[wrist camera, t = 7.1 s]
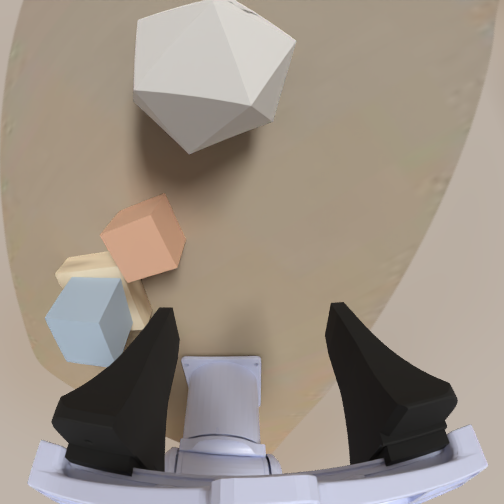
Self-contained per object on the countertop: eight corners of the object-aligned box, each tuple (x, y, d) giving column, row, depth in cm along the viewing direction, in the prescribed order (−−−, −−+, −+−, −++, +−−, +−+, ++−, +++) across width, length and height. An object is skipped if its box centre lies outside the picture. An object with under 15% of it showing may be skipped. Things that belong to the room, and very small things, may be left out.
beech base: (153, 307, 27) (146, 329, 25) (95, 311, 27) (84, 332, 25) (131, 245, 24) (119, 265, 21) (69, 255, 24) (54, 274, 22)
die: (293, 117, 20) (349, 19, 10) (198, 199, 18) (195, 111, 9) (212, 51, 20) (223, -52, 10) (117, 117, 18) (75, 15, 8)
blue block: (133, 322, 24) (117, 368, 20) (86, 319, 24) (66, 361, 20) (120, 277, 22) (98, 323, 18) (71, 276, 22) (44, 318, 17)
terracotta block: (186, 239, 24) (177, 267, 20) (142, 253, 24) (127, 282, 21) (165, 192, 22) (150, 214, 18) (119, 210, 22) (99, 234, 19)
